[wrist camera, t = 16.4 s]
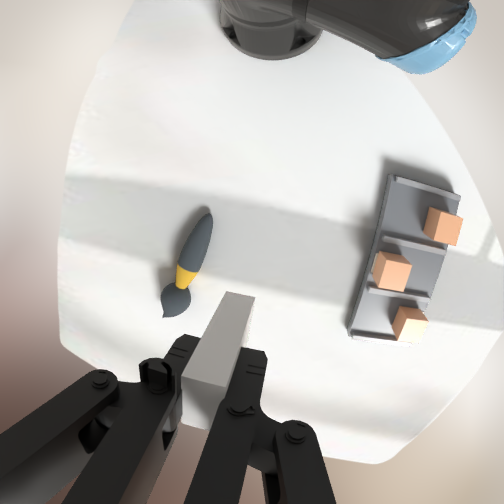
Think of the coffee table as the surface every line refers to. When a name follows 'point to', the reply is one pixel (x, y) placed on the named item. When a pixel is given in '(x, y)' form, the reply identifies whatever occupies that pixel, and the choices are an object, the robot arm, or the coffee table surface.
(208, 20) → the coffee table surface
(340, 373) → the coffee table surface
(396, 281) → the peach cube
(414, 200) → the switch bank
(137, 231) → the coffee table surface
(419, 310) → the tan cube
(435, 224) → the tab
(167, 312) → the paintbrush
